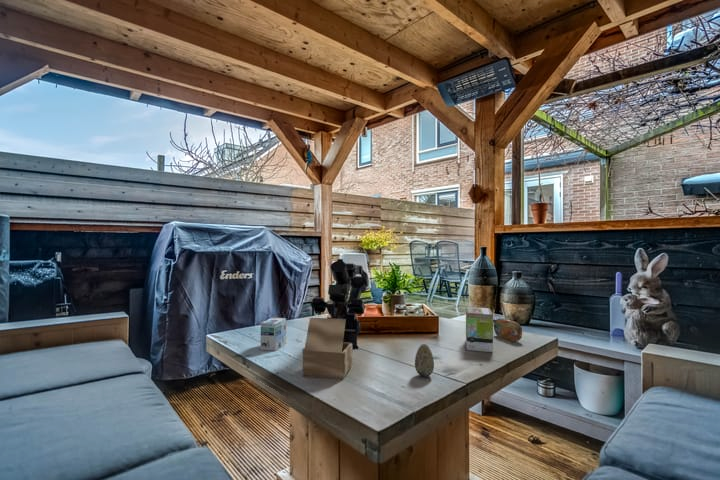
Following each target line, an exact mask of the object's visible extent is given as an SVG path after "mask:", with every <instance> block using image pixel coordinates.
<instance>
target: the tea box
mask: <svg viewBox="0 0 720 480" xmlns="http://www.w3.org/2000/svg"><path fill="white" fill-rule="evenodd" d="M465 311H466V312H465V342H466V350H467V351H476V352H484V353H485V352H486V353H487V352H489V353H492V352H494V314H493V312H492V310H491V308H490V307H474V306H473V307H471V306H466V307H465Z"/></svg>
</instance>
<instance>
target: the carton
mask: <svg viewBox="0 0 720 480" xmlns="http://www.w3.org/2000/svg"><path fill="white" fill-rule="evenodd" d="M304 349H305V347H304V348H303V349H302V354H301V355H302V358H301V359H302V361H301V362H302V363H301V366H302V370H301V371H302V373H303V375H302V377H308V378H322V379H333V380H335V379H336V380H344V379H345V377H346V376H347V374H348V373H349V371H350V370H351V369H352V366H353V349H352V343H350V342H343V345H342V353H336V352H320V351H305V350H304Z"/></svg>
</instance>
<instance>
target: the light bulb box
mask: <svg viewBox="0 0 720 480" xmlns="http://www.w3.org/2000/svg"><path fill="white" fill-rule="evenodd" d="M286 344H287V318H285V317H270V318H269V319H266V320H264V321H261V322H260V350H263V351H274V352H275V351H277V350H279V349H281V348H282V347H283V346H286Z"/></svg>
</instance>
